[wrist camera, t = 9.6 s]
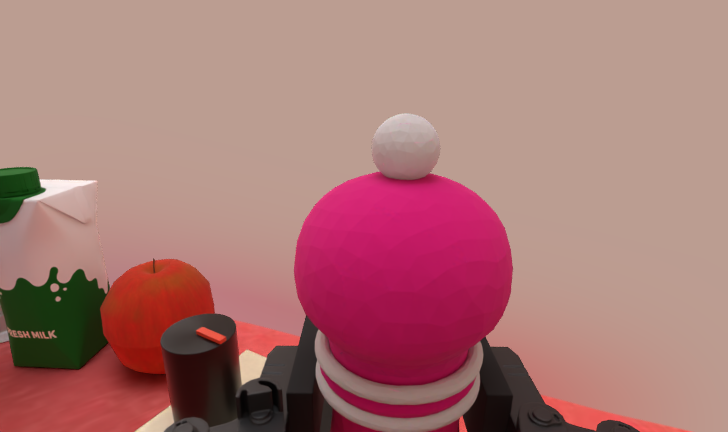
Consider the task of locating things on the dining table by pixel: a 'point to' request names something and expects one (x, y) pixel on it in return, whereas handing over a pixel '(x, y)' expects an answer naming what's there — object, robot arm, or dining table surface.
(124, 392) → the dining table surface
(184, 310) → the apple
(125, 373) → the dining table surface
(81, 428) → the dining table surface
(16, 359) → the milk carton
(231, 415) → the hob knob
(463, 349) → the pepper mill
